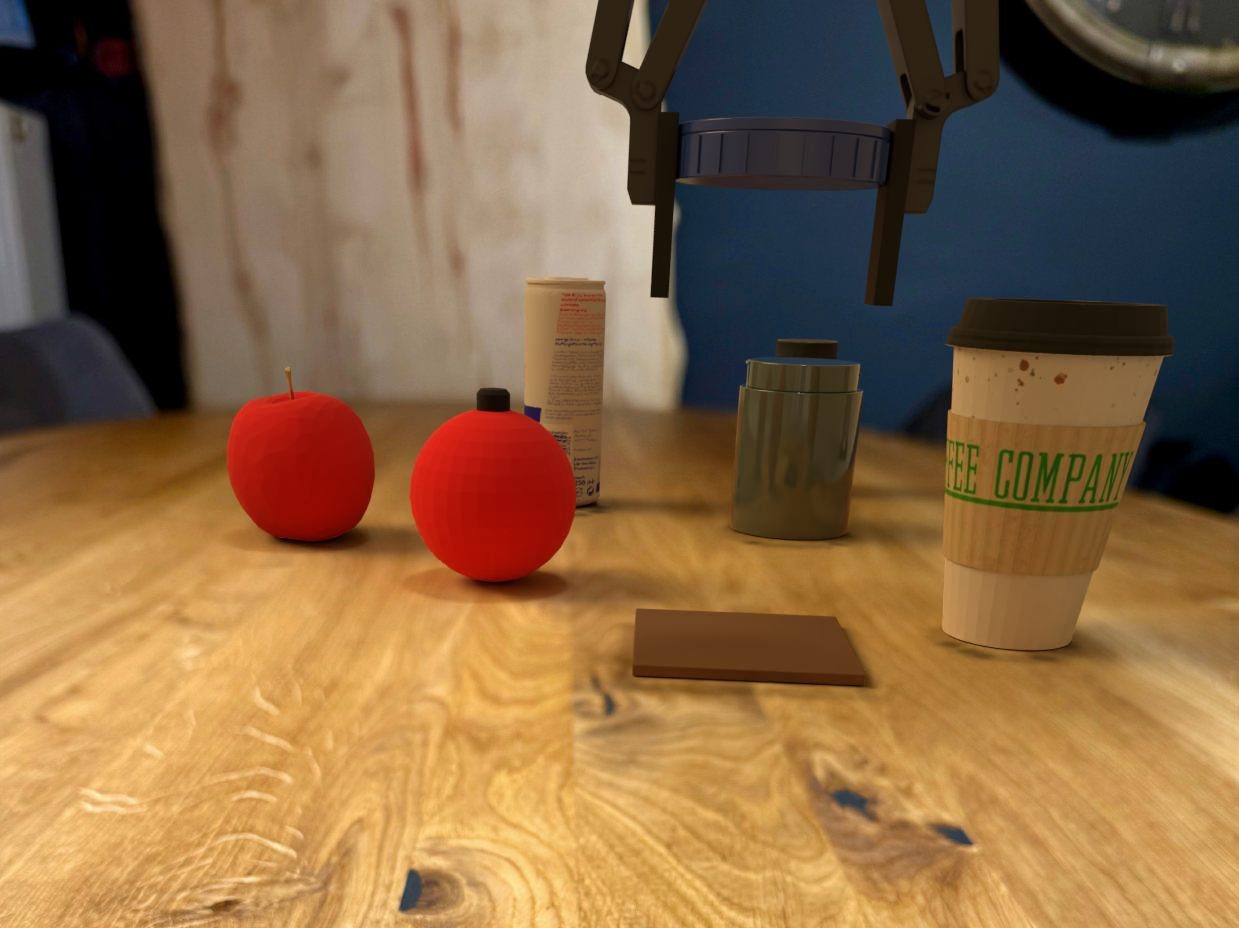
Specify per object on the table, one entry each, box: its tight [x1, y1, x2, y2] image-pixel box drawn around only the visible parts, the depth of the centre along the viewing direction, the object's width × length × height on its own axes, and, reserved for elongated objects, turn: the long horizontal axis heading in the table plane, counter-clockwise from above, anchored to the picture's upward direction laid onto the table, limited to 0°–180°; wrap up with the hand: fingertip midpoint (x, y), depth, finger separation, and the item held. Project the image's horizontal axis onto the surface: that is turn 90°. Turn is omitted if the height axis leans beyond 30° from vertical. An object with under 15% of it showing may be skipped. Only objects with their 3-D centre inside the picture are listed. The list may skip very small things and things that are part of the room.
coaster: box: [631, 607, 866, 687], centre depth 59 cm, size 10×10×1 cm
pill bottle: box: [774, 338, 839, 360], centre depth 99 cm, size 6×6×11 cm
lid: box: [675, 116, 892, 192], centre depth 50 cm, size 8×8×2 cm
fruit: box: [226, 366, 376, 543], centre depth 78 cm, size 9×9×10 cm
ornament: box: [409, 387, 577, 583], centre depth 68 cm, size 9×9×10 cm
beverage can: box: [523, 276, 607, 507], centre depth 90 cm, size 6×6×15 cm
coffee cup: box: [941, 297, 1176, 651], centre depth 60 cm, size 10×10×15 cm
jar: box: [728, 356, 865, 541], centre depth 84 cm, size 8×8×11 cm
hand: (768, 300), depth 53 cm, fingers closed on lid, 8 cm apart
